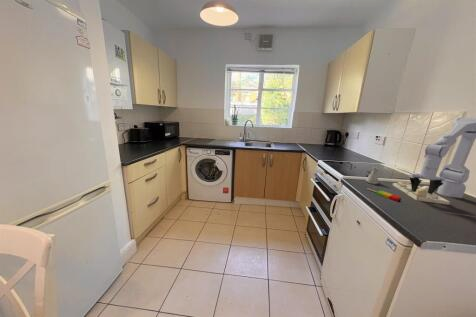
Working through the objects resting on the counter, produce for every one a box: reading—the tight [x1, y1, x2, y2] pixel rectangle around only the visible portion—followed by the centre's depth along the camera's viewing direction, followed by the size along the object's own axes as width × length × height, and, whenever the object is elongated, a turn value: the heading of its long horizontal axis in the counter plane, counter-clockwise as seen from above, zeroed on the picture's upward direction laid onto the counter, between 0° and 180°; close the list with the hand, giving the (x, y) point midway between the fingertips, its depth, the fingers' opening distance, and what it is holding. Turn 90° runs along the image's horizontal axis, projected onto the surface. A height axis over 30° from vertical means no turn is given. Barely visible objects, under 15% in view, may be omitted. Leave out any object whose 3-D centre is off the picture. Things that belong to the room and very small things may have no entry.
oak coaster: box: [397, 181, 411, 185], centre depth 120 cm, size 8×8×1 cm
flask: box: [365, 166, 380, 185], centre depth 118 cm, size 7×7×10 cm
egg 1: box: [415, 189, 427, 198], centre depth 98 cm, size 4×4×5 cm
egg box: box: [392, 182, 451, 206], centre depth 104 cm, size 14×21×2 cm
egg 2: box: [421, 185, 431, 195], centre depth 103 cm, size 4×4×5 cm
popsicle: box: [366, 188, 401, 202], centre depth 101 cm, size 6×15×2 cm, turn 33°
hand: (421, 192), depth 98 cm, fingers open, 7 cm apart
